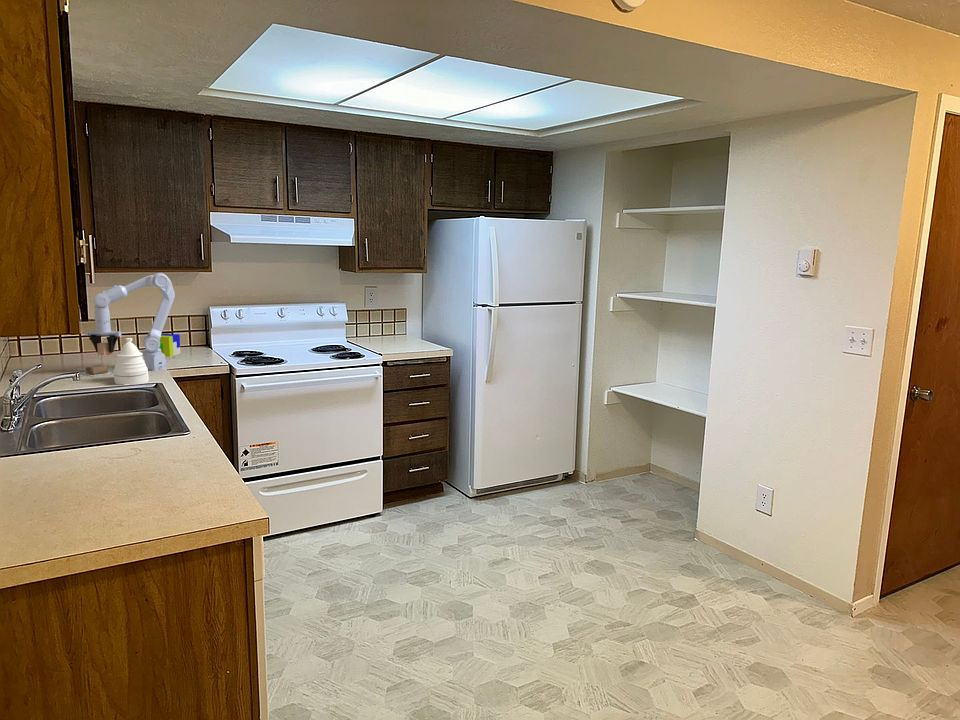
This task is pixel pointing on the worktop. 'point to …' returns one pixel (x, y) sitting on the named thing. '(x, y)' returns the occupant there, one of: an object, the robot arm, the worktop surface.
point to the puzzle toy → (170, 344)
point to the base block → (96, 369)
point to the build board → (110, 371)
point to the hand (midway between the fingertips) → (104, 352)
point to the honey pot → (130, 365)
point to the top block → (103, 348)
